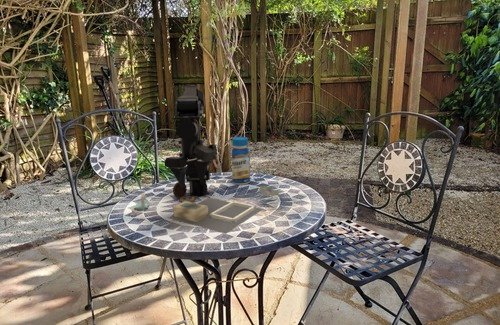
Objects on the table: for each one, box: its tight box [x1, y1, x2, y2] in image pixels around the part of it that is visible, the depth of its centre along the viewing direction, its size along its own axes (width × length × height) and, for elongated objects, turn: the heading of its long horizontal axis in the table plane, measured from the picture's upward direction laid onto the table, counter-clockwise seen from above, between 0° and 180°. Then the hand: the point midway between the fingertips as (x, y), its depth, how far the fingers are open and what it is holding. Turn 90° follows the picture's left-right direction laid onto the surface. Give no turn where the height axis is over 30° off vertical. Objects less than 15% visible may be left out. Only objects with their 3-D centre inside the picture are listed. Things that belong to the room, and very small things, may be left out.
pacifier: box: [131, 192, 151, 213], centre depth 123 cm, size 7×6×6 cm
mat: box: [167, 197, 264, 234], centre depth 117 cm, size 24×22×2 cm
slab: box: [172, 200, 208, 222], centre depth 114 cm, size 10×6×4 cm, turn 58°
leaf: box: [259, 185, 279, 199], centre depth 134 cm, size 20×8×1 cm, turn 2°
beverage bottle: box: [230, 136, 251, 186], centre depth 150 cm, size 8×8×20 cm
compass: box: [172, 181, 198, 204], centre depth 130 cm, size 8×8×7 cm
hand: (192, 184), depth 112 cm, fingers open, 9 cm apart
